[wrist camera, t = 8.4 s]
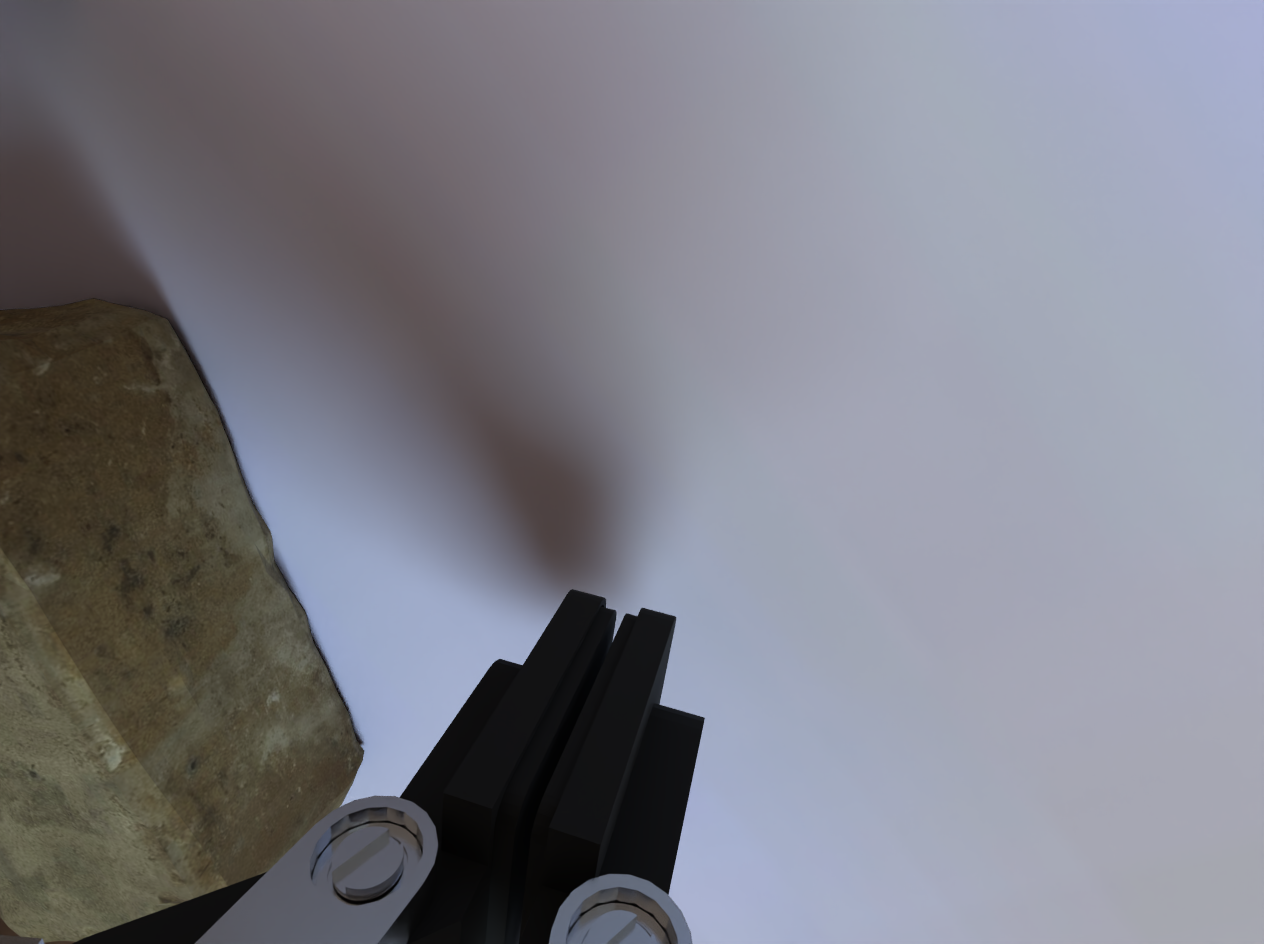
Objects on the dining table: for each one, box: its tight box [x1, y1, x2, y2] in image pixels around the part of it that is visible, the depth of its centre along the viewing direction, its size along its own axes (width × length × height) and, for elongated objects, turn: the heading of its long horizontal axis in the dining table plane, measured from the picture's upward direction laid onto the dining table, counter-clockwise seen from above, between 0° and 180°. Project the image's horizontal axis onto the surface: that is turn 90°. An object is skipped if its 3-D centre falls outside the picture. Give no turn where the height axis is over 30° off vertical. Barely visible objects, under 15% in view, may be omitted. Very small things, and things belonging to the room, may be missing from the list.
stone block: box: [0, 298, 364, 943], centre depth 13 cm, size 6×12×5 cm, turn 15°
